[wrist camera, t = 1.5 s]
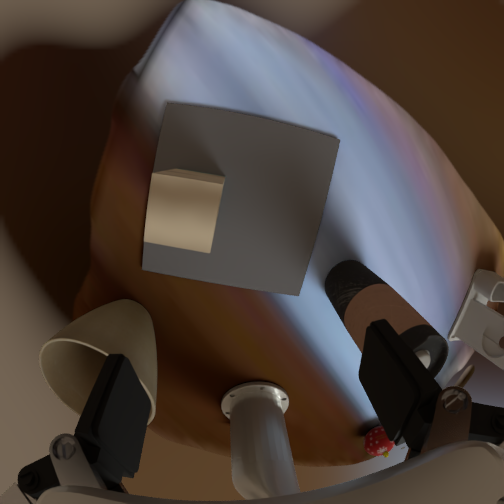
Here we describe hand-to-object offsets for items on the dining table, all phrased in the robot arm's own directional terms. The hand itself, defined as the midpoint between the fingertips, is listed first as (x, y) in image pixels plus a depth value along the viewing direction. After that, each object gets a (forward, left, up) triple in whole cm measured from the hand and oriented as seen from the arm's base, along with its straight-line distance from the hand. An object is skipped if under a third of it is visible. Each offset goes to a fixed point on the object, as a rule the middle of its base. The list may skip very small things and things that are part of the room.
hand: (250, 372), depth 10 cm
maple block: (+2, +5, -26) cm, 26 cm away
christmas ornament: (-46, -45, -27) cm, 69 cm away
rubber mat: (+2, 0, -26) cm, 27 cm away
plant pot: (-18, +13, -27) cm, 35 cm away
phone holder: (-7, -54, -27) cm, 60 cm away
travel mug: (-6, -18, -27) cm, 33 cm away
